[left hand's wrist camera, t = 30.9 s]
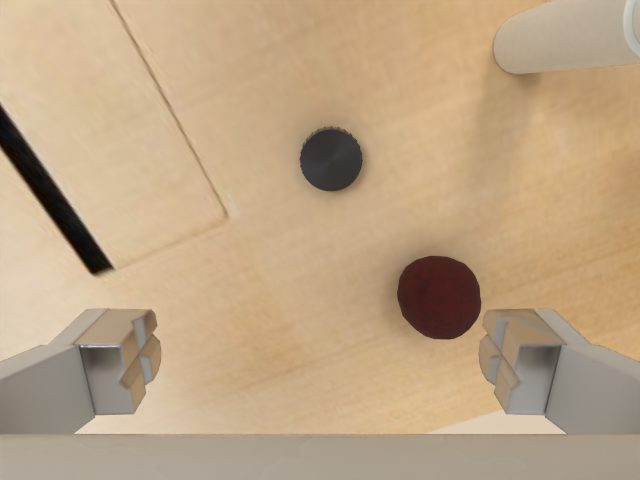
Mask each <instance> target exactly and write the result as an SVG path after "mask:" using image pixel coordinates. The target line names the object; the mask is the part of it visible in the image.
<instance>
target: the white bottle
mask: <svg viewBox="0 0 640 480" xmlns="http://www.w3.org/2000/svg"><path fill="white" fill-rule="evenodd" d="M493 50H494V56H495V59H496V62H497V63H498V65H499V66H500V67H501V68H502V69H503V70H505V71H506V72H508V73H512V74H525V73H537V72H549V71H561V70H573V69H585V68H597V67H609V66H621V65H633V64H640V0H552V1H550V2H547V3H544V4H542V5H539V6H537V7H534V8H532V9H529V10H526V11H524V12H521V13H519V14H516V15H514V16H512V17H510V18H509V19H508V20H506V21H505V22H504V23H503V24H502V26H501V27H500V29H499V30H498V32H497V34H496V37H495V40H494V46H493Z"/></svg>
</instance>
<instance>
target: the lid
mask: <svg viewBox="0 0 640 480" xmlns="http://www.w3.org/2000/svg"><path fill="white" fill-rule="evenodd" d="M300 153H301V156H300V163H301V165H300V167H301V169H302V172H303V174H304V176H305V178H306V179H307V180H308V181H309V182H310V183H311V184H312V185H313V186H315V187H316V188H319V189H321V190H325V191H337V190H341V189H343V188H345V187H347V186H349V185H350V184H351V183H352V182H353V181H354V180H355V179H356V178H357V176H358V174H359V172H360V169H361V165H362V153H361V150H360V146H359V145H358V144H357V141H356V139H355V138H353V137H352V135H351V134H349V133H348V132H346V130H342V129H340V128H339V127H338V128H335V127H332V126H331V127H326V128H325V127H324V128H322V129H320V130H319V129H318V130H317V131H316V132H314V133H312V134H311V135H310V136H309V138H308V137H307V140H306V142H305V143H304V144H303V149H302V150H301V152H300Z"/></svg>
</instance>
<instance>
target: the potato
mask: <svg viewBox="0 0 640 480" xmlns="http://www.w3.org/2000/svg"><path fill="white" fill-rule="evenodd" d="M397 296H398V301H399V305H400V308H401V311H402V314H403V317H404V318H405V319H406V320H407V321H408V322H409V323H410V324H411V325H412V326H413V327H414V328H415V329H416V330H417V331H419V332H420V333H422V334H423V335H424V336H427V337H430V338H433V339H455V338H457V337H459V336H461V335H463V334H464V333H465V332H466V331H468V330H469V329H470V328H471V326H472V325H473V324H474V322H475V321H476V320H477V318H478V316H479V313H480V310H481V298H480V288H479V284H478V282H477V279H476V277H475V275H474V274H473V272H472V271H471V270H470V269H469V268H468V267H467V266H466V265H465V264H464V263H461V262H459V261H456V260H454V259H452V258H449V257H442V256H428V257H425V258H421V259H418V260H416V261H414V262H413V263H411V264H410V265H408V266H407V267H406V268H405V270H404V271H403V273H402V275H401V276H400V280H399V285H398V291H397Z"/></svg>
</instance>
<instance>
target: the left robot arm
mask: <svg viewBox="0 0 640 480" xmlns="http://www.w3.org/2000/svg"><path fill="white" fill-rule="evenodd" d="M156 327H157V321H156V316H155V313H154V312H153V311H152V310H151V309H109V308H102V309H86V310H85V311H84V312H83V313H82V314H81V315H80V316H79V317H78V318H76V319H75V320H74V321H73V322H72V323H71V324H70V325H69V326H68V327H67V328H66V329H64V330H63V331H62V332H61V333H60V334H59V335H58V336H57V337H56V338H55V339H54V340H52V341H51V342H50V343H49V344H48V345H40V346H37V347H35V348H32V349H30V350H27V351H25V352H23V353H20V354H18V355H15V356H13V357H10V358H8V359H6V360H3V361H1V362H0V480H640V362H639V361H637V360H634V359H632V358H629V357H627V356H625V355H622V354H620V353H617V352H615V351H613V350H610V349H608V348H605V347H603V346H600V345H592V344H591V343H590V342H589V341H588V340H586V339H585V338H584V337H583V336H582V335H581V334H580V333H579V332H578V331H577V330H576V329H575V328H573V327H572V326H571V325H570V324H569V323H568V322H567V321H566V320H565V319H564V318H563V317H562V316H560V315H559V314H558V313H557V312H556V311H555V310H553V309H550V308H543V309H501V310H487V311H486V314H485V316H484V320H483V327H484V329H485V330H486V332H487V333H488V334H487V335H486V336H485V337H484V338H483V339H482V340H481V341H480V346H479V362H480V367H481V370H482V373H483V375H484V377H485V378H486V380H487V381H489V382H490V383H492V384H493V385H495V390H494V394H495V396H496V397H497V399H498V401H499V403H500V404H501V406H502V408H503V409H504V411H505V413H506V414H519V415H545V418H547V419H548V420H549V421H551V422H552V423H553V424H555V425H556V426H558V427H559V428H560V429H561V430H563V431H564V432H565V433H567V434H73V433H75V432H76V431H77V430H79V429H80V428H81V427H83V426H84V425H85V424H87V423H88V422H89V421H91V420H92V419H93V418H95V415H121V414H134V413H135V411H136V409H137V408H138V406H139V404H140V403H141V401H142V399H143V397H144V396H145V394H146V390H145V385H147V384H148V383H150V382H151V381H153V380H154V378H155V376H156V375H157V373H158V370H159V366H160V362H161V346H160V341H159V340H158V339H157V338H156V337H155V336H154V335H153V334H152V333H153V332H154V330H155V329H156Z"/></svg>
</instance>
